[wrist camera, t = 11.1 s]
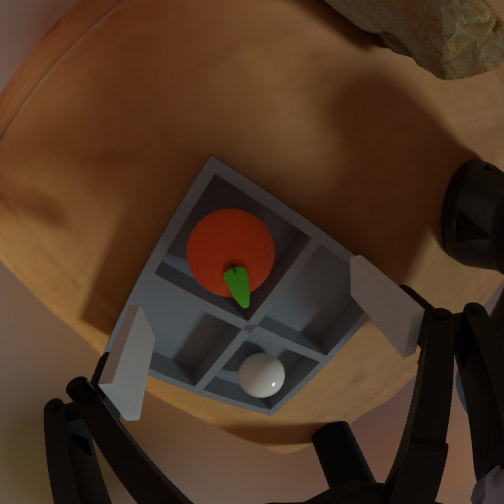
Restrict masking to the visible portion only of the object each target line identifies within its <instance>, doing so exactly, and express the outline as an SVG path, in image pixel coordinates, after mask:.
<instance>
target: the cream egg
mask: <svg viewBox="0 0 504 504" xmlns="http://www.w3.org/2000/svg"><path fill="white" fill-rule="evenodd" d="M284 379H285V371H284V367H283V365H282V363H281V362H280V361H279V360H278V359H277V358H276V357H274V356H273V355H270V354H267V353H256V354H253V355H250V356H249V357H247V358H246V359H245V360H244V361H243V362H242V363H241V365H240V367H239V370H238V381H239V384H240V386H241V387H242V389H243V390H244V391H245V392H246V393H247V394H249V395H251V396H254V397H258V398H265V397H269V396H271V395H273V394H275V393H276V392H278V391H279V389H280V388H281V387H282V385H283V383H284Z"/></svg>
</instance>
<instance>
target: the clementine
mask: <svg viewBox="0 0 504 504" xmlns="http://www.w3.org/2000/svg"><path fill="white" fill-rule="evenodd" d="M186 255H187V260H188V265H189V269H190V271H191V273H192V275H193V277H194V278H195V280H196V281H197V282H198V283H199V284H200V285H201V286H202V287H204V288H205V289H207V290H208V291H210V292H212V293H213V294H217V295H220V296H224V297H234V298H235V300H236V301H237V302H238V303H239V305H240V306H241V307H243V308H247V307H249V303H250V292H252V291H254V290H255V289H256V288H258V287H259V286H260V285H261V284H262V283H263V282H264V281H265V279H266V278H267V277H268V275H269V273H270V271H271V268H272V266H273V263H274V257H275V251H274V243H273V239H272V237H271V234H270V232H269V230H268V228H267V227H266V226H265V225H264V223H263V222H262V221H261V220H260V219H258V218H257V217H255V216H254V215H253V214H251V213H248V212H246V211H243V210H240V209H231V208H228V209H222V210H217V211H215V212H213V213H210V214H208V215H207V216H205V217H204V218H203V219H202V220H201V221H199V222H198V224H197V225H196V227H195V228H194V229H193V231H192V232H191V234H190V237H189V240H188V243H187V254H186Z"/></svg>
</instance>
